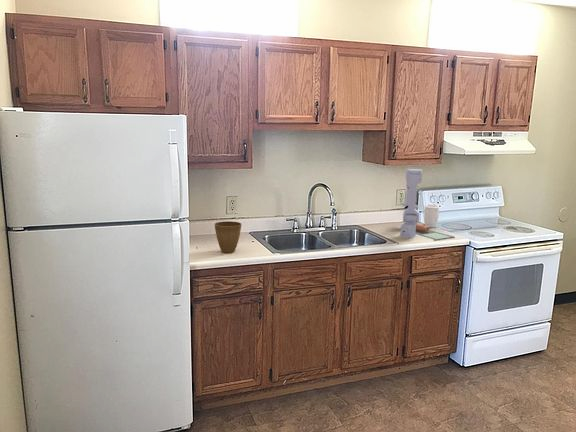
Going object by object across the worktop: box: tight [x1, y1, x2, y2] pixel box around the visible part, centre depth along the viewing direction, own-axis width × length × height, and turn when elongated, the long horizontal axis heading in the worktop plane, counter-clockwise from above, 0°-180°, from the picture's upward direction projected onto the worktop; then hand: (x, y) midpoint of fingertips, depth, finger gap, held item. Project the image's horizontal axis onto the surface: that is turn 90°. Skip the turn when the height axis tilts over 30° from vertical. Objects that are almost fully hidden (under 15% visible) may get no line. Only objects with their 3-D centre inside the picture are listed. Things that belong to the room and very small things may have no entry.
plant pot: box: [214, 220, 242, 254], centre depth 269 cm, size 15×15×16 cm
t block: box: [416, 222, 431, 233], centre depth 328 cm, size 12×12×4 cm
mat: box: [415, 229, 455, 242], centre depth 322 cm, size 18×30×1 cm, turn 31°
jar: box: [423, 204, 440, 228], centre depth 345 cm, size 11×10×15 cm
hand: (409, 217), depth 336 cm, fingers closed
